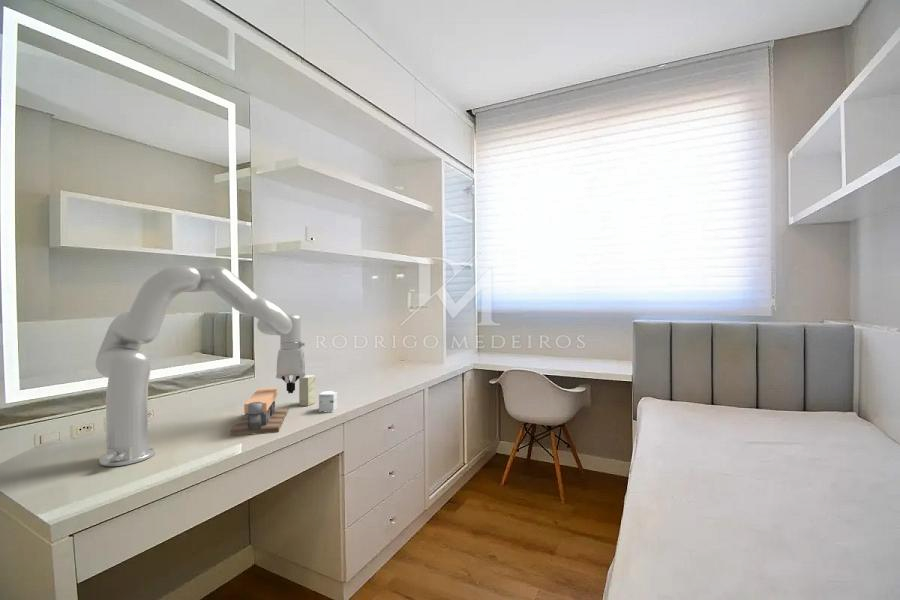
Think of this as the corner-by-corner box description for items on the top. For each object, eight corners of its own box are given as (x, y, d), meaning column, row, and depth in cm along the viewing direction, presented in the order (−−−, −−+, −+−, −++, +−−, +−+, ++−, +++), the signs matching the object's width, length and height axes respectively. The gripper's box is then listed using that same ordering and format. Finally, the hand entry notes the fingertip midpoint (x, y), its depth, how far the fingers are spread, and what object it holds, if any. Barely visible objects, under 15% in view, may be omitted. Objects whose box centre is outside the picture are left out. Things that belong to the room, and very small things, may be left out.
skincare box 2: (318, 412, 166) (318, 394, 166) (322, 408, 172) (322, 390, 172) (333, 412, 166) (333, 394, 166) (337, 408, 172) (337, 390, 172)
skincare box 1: (308, 406, 175) (308, 377, 175) (298, 405, 176) (298, 377, 176) (315, 402, 181) (315, 374, 181) (306, 402, 182) (306, 374, 182)
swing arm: (265, 413, 140) (265, 404, 140) (242, 414, 138) (242, 405, 138) (277, 394, 166) (277, 387, 166) (258, 395, 164) (258, 388, 164)
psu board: (278, 432, 141) (278, 413, 141) (229, 436, 138) (229, 416, 138) (288, 411, 167) (288, 394, 167) (248, 413, 164) (248, 397, 164)
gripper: (311, 344, 168) (311, 389, 168) (271, 345, 164) (272, 391, 165) (309, 346, 161) (310, 393, 161) (268, 347, 157) (268, 396, 157)
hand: (290, 392), depth 163 cm, fingers closed
